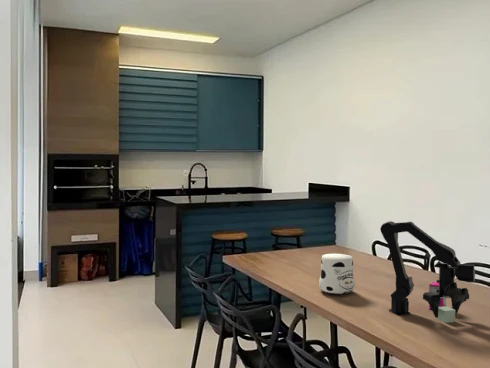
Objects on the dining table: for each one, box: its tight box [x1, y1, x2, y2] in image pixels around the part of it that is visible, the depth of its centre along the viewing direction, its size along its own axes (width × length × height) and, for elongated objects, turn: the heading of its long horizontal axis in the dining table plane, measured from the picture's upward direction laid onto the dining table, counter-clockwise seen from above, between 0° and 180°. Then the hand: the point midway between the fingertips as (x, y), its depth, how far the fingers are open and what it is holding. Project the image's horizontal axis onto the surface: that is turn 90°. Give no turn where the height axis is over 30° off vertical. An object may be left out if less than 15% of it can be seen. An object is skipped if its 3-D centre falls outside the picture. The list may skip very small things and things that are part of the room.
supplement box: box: [428, 281, 447, 311], centre depth 203 cm, size 6×6×12 cm
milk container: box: [318, 253, 356, 296], centre depth 228 cm, size 17×17×18 cm
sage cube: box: [435, 305, 456, 324], centre depth 189 cm, size 5×5×5 cm
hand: (445, 316), depth 189 cm, fingers open, 9 cm apart
